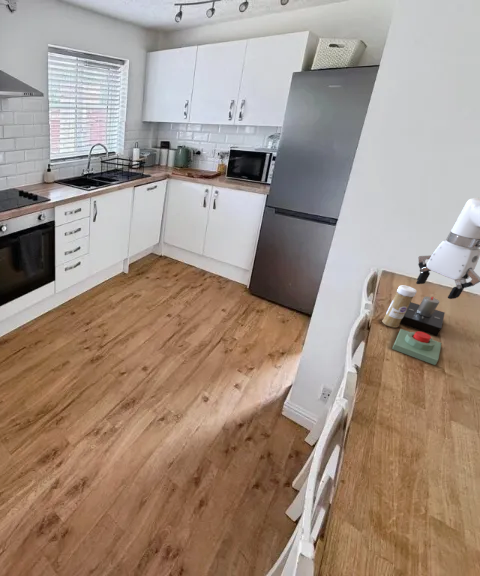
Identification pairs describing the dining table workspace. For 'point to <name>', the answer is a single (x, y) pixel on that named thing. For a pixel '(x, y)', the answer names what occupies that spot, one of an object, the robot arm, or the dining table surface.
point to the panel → (423, 320)
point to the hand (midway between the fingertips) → (435, 290)
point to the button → (422, 337)
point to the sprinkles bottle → (399, 306)
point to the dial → (427, 306)
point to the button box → (417, 347)
